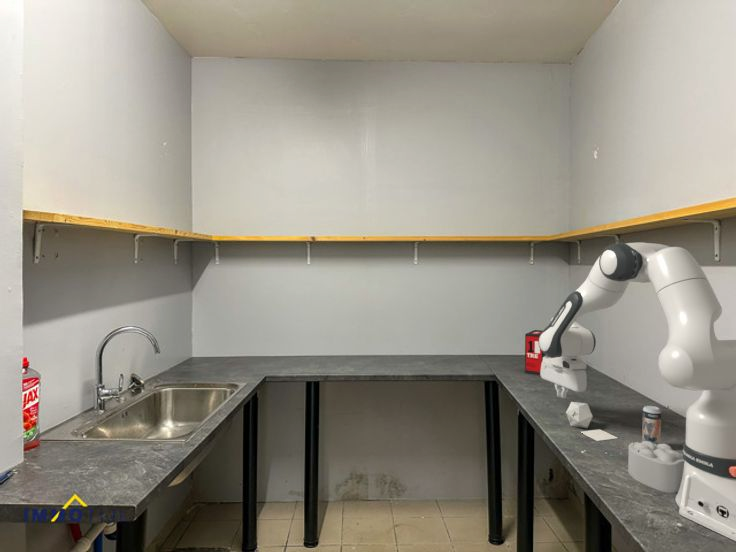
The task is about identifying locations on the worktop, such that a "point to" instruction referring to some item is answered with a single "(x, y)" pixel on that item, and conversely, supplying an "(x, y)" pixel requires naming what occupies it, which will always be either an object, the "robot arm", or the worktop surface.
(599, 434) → the pad
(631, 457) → the lumpy-topped squat cylinder
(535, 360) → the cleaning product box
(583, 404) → the die
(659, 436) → the beer can
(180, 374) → the worktop surface
